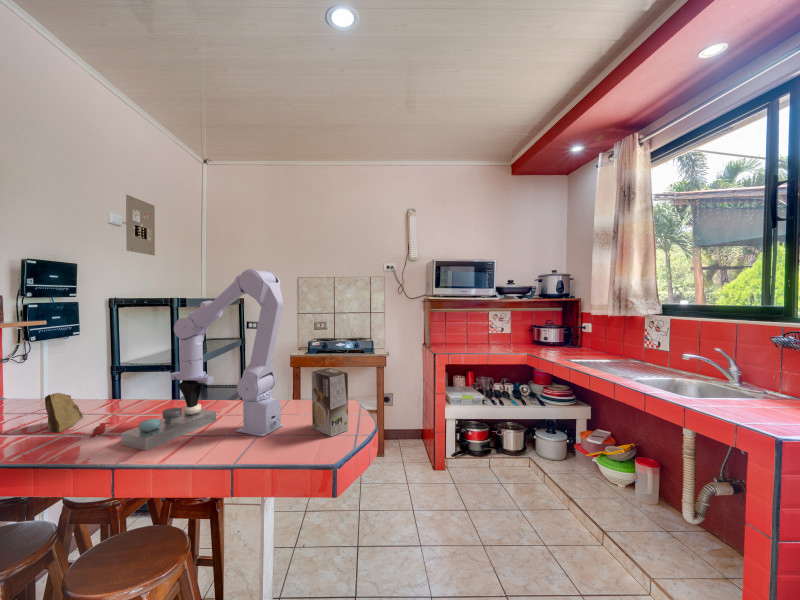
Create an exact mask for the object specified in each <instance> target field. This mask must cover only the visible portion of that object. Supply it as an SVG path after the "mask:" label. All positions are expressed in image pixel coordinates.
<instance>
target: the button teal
mask: <svg viewBox="0 0 800 600" xmlns="http://www.w3.org/2000/svg"><path fill="white" fill-rule="evenodd" d="M160 419H161V418H160ZM160 419H159V418H149V419H145V420H142V421H139V423H138V427H139V430H140V431H143V432H147V433H148V432H151V431H153V430H156V429H158V428H159V427H160Z"/></svg>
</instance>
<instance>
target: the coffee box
mask: <svg viewBox="0 0 800 600" xmlns="http://www.w3.org/2000/svg"><path fill="white" fill-rule="evenodd" d="M348 375H349V373H348V372H345V371H343V370H338V369H334V368H330V367H328V368H327V367H326V368H321V369H318V370H315V371H311V409H312V410H311V413H312V414H311V416H312V420H311V422H312V423H311V424H312V429H314V430H315V431H318V432H320V433H323V434H324V435H326V436H328V437H334V436H336V435H339V434H342V433H344V432H347V431H349V377H348Z"/></svg>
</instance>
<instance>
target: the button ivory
mask: <svg viewBox="0 0 800 600" xmlns="http://www.w3.org/2000/svg"><path fill="white" fill-rule="evenodd" d="M201 409H202V404H201V403H197V406H194V407H191V408H190V407H187V404H186V405H185V406H183V409H182V410H183V413H184V414H186V415H187V416H194V415H196V414H199V412H200V411H201Z"/></svg>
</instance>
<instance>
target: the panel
mask: <svg viewBox="0 0 800 600" xmlns="http://www.w3.org/2000/svg"><path fill="white" fill-rule="evenodd" d="M215 422H217V411H215V410H211V409H205V408H201V411H200V412H199V414H196V415H194V416H187V415H186V414H184V413H183V411H182V415H181V416H180V421H177V422H175V423H172V424H169V423H165V419H164V418H163V417H162V418H160V427H159V428H158V429H156V430H153V431H151V432H148V433H147V432H143V431H140V430H139V426H138V427H134V428H132V429H128V430H125V431H124V432H121V435H120V436H121V437H120V438H121V439H120V440H121V441H120V443H121V444H122V445H121V446H124V445H125V447H128V448H132V447H133V448H134V449H137V448H138V449H137V450H142V451H144V452H145V451H149V450H151V449H153V447H154V448H156V447H158V446H160V445H162V444H165V443H168V442H171V441H173V440H175V439H178V438H179V437H181V436H184V435H187V434H189V433H191V432H194V431H196V430H199V429H201V428H204V427H205V426H207V425H210V424H213V423H215ZM172 439H173V440H172ZM167 441H168V442H167ZM148 449H149V450H148Z"/></svg>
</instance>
